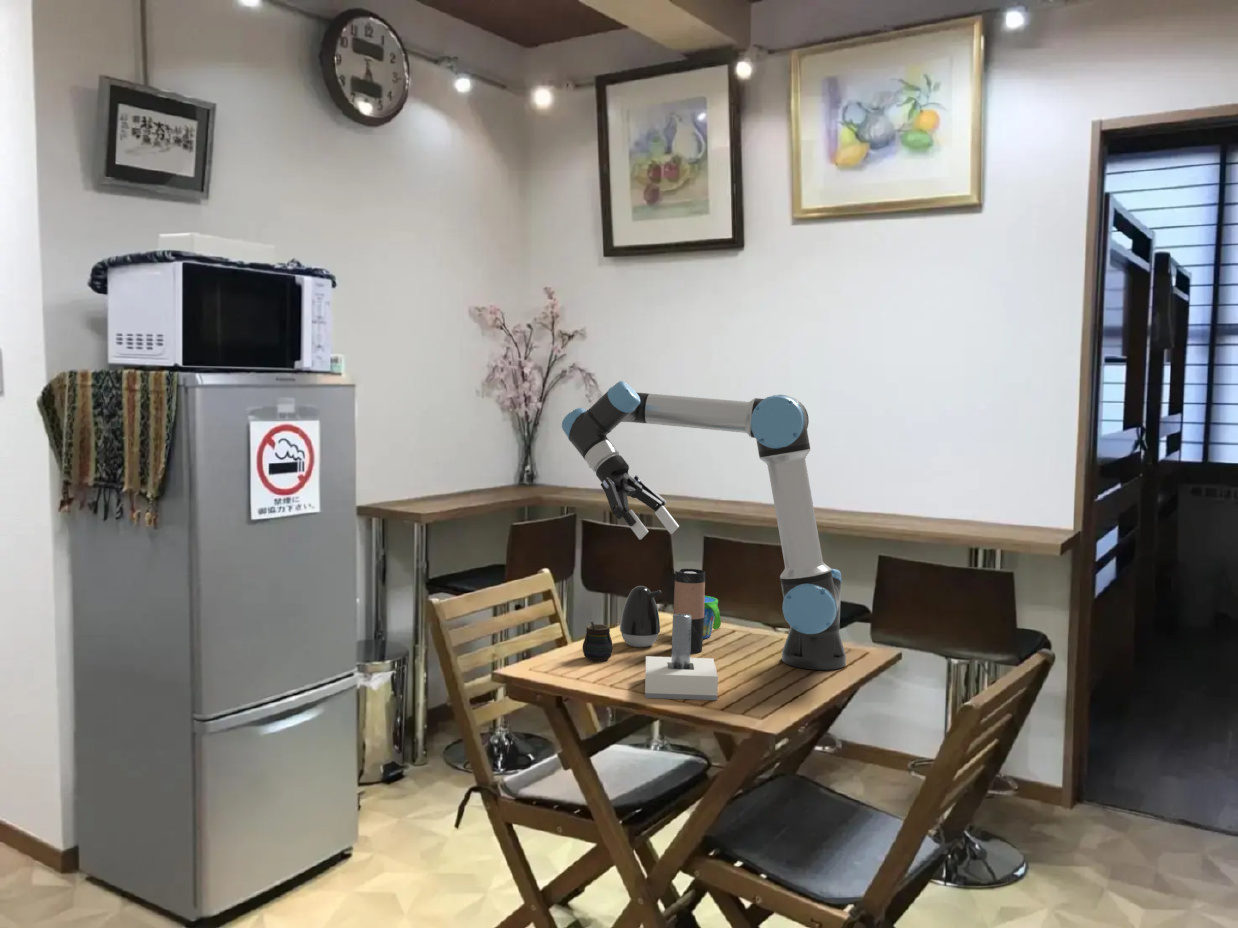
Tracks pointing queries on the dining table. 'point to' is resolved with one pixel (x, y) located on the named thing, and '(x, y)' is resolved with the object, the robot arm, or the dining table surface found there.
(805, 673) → the dining table surface
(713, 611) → the snack cup
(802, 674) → the dining table surface
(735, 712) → the dining table surface
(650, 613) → the pump dispenser
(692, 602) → the travel mug
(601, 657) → the mate gourd
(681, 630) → the pin
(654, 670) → the hole block
